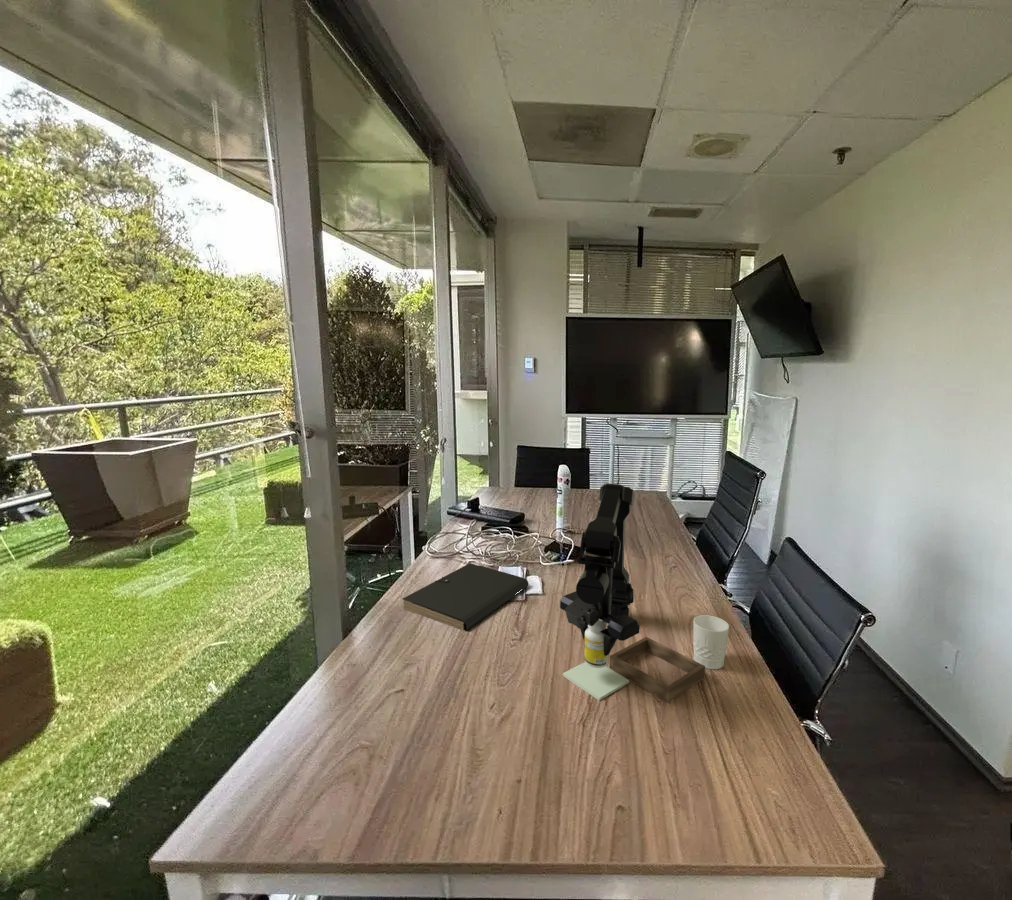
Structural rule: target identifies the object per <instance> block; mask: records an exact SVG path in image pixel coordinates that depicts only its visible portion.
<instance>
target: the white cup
mask: <svg viewBox="0 0 1012 900" xmlns="http://www.w3.org/2000/svg"><path fill="white" fill-rule="evenodd" d="M692 624H693V625H692V626H693V627H692V628H693V629H692V631H693V632H692V635H693V636H692V643H693V644H692V645H693V646H692V647H693V660H694V661H696V662H698V663H700V664H702V665H704V666H705V669H708V670H720V669H722V668H723V667H724V666H725V665H724V663H725V657H726V655H727V654H726V652H727V646H728V641H729V640H728V637H729V631H730V625H729V623H728V622H727V621H726V620H725V619H722V618H720V617H717V616H714V615H710V614H709V615H707V614H705V615H704V614H703V615H697V616H695V617H694V618H693V623H692Z"/></svg>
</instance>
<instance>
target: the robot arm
mask: <svg viewBox="0 0 1012 900" xmlns="http://www.w3.org/2000/svg"><path fill="white" fill-rule="evenodd" d="M635 497H636V496H635V490H634V489H633V488H631V487H630V486H624V485H623V484H620V483H618V484H617V483H604V484H603V485H601V486H600V487H599V497H598V498H599V499H598V500H599V502H600V503H599V507H598V509H597V514H596V517H595V519H594V520H592V521H590V522H588V523H587V526H586V529H585V531H583V532H582V534H581V541H580V545H579V546H580V547H579V552H578V559H577V564H580V565H584V570H583V573H581V576H580V577H579V579H578V581H577V583H576V586H575V591H573V592H570V593H568V594H565V595H563V596H562V597H561V598H560V601H559V603H560V604H559V608H560V609H561V610H562V611H564V612H565V616H566V619H567V622H568V623H569V624H572V625H574V626H575V627H576V628H577V629H579V630H580V633H581V635H582V639H583V641H584V643H585V630H586V629H587V628H588V625H590V626H593V625H594V624H595V623H596V622H597V621H598V620H600V621H604V622H606V629H604V630H602V631H600V632H601V633H602V634H603V635H604V655H605V656H607V655H609V656H610V653H611V651H612V649H613V647H614V646H615V644H616V642H617V641H618V640H619V641H622V642H623V641H624V642H625V641H626V640H628V639H630V638H632V637H634V636H635V635H638V634H640V622H639V621H638V620H637V619H635V618H633V617H631V616H630V615H629V614H630V608H629V606H630V605H631V604H633V603H635V602H634V599H635V598H634V597H635V595H634V594H635V593H634V588H633V586H632V585H633V584H632V583H630V574H629V573H628V571H627V569H626V568H625V537H626V536H625V535H626V519H627V517H628V515H629V514H630V513H631V510H632V506H634V504H635ZM584 554H587V555H584Z"/></svg>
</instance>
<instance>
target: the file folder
mask: <svg viewBox="0 0 1012 900" xmlns="http://www.w3.org/2000/svg"><path fill="white" fill-rule="evenodd" d="M527 586H528V587H529V581H528V580H527V579H526V578H524V577H523V576H518V575H514V574H511V573H507V572H504V571H500V570H497V569H495V568H494V569H493V568H490V567H487V566H484V565H483V566H482V565H477V564H474V563H467V564H466V565H464V566H462V567H460V568H458V569H457V570H454V571H452V572H450V573H448V574H447V575H445V576H441V578H438V579H437V580H435V581H433V582H431V583H429V584H427V585H426V586H423V587H421V588H419V589H418V590H416V591H414V592H412V593H409V594H408V595H406V596H404V597H403V598H402V601H403V602H402V603H403V608H402V609H403V610H405V611H408V612H412V613H414V614H417V615H418V616H422V617H425V618H428V619H431V620H433V621H436V622H440V623H443V624H445V625H448V626H451V627H453V628H456V629H459V630H463V631H465V632H466V631H467V630H469V629H470V628H473V626H474V625H476V624H477V623H479V622H480V621H482V620H483V619H485V618H486V617H487V616H489V615H490V614H492V613H494V611H496V610H498V608H500V607H501V606H504V604H506V603H507V602H509V601H510V600H512V597H513V596H514V595H515V594H516V593H517V592H519V591H520V590H521V589H524V590H525V589H527V588H528V587H527ZM526 587H527V588H526ZM514 597H515V596H514ZM514 597H513V598H514ZM465 628H466V629H465Z"/></svg>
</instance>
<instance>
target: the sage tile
mask: <svg viewBox="0 0 1012 900" xmlns="http://www.w3.org/2000/svg"><path fill="white" fill-rule="evenodd" d="M562 677H564V678H566V680H568V681H570V682H571V683H573V684H574V685H576V687H578V688H579V689H581V690H583V691H584V692H586V693H587V694H589V695H590V696H591V697H592V698H595V699H596V700H597V701H601V700H603V699H605V698H606V697H608V696H610V695H611V694H612V693H615V692H617V690H620V689H621V688H623V687H624V686H626V685H628V684H629V683H630V680H629V679H627V678H626V677H624V676H623V675H621V674H619V673H618V672H616V671H614V670H613V669H611V668H609V667H607V665H606V666H605V667H602V668H594V667H591V666H589V665H587V664H586V662H585V661H584V662H582V663H580V664H578V665H577V666H575V667H572V668H570V669H568V670H567V671H565V672H563V673H562Z"/></svg>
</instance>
